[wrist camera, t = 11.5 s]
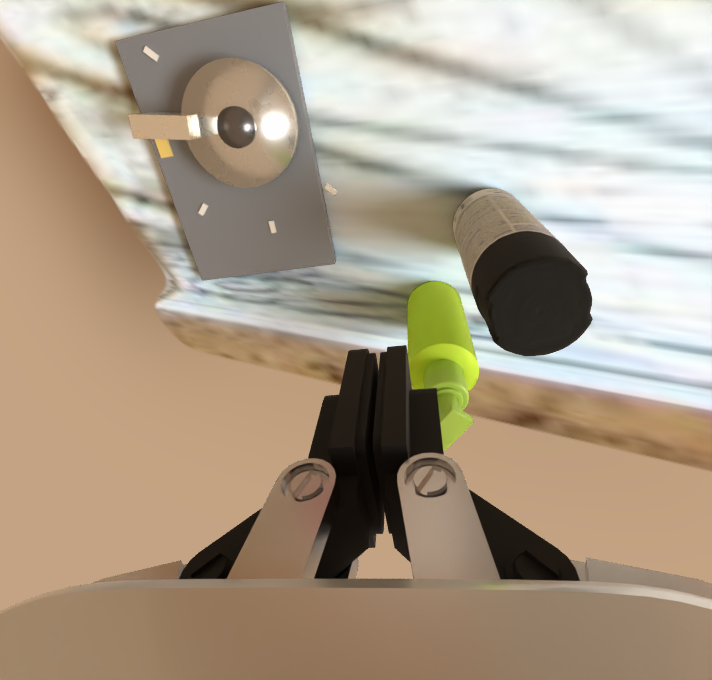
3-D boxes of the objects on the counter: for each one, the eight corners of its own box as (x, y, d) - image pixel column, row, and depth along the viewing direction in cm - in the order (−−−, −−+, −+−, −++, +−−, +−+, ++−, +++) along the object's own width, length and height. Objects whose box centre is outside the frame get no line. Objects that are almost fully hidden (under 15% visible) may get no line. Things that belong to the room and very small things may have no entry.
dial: (297, 59, 36) (285, 56, 32) (302, 185, 41) (293, 194, 37) (142, 57, 37) (114, 54, 33) (166, 180, 42) (144, 188, 38)
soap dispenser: (391, 318, 48) (384, 443, 31) (429, 270, 45) (443, 382, 28) (433, 344, 50) (447, 478, 33) (472, 299, 46) (512, 423, 29)
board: (122, 42, 37) (113, 40, 36) (306, -1, 35) (302, -4, 33) (206, 276, 48) (201, 281, 47) (351, 257, 45) (350, 262, 44)
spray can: (458, 261, 44) (492, 370, 27) (444, 197, 41) (472, 274, 24) (525, 243, 43) (606, 347, 26) (515, 175, 40) (599, 241, 23)
